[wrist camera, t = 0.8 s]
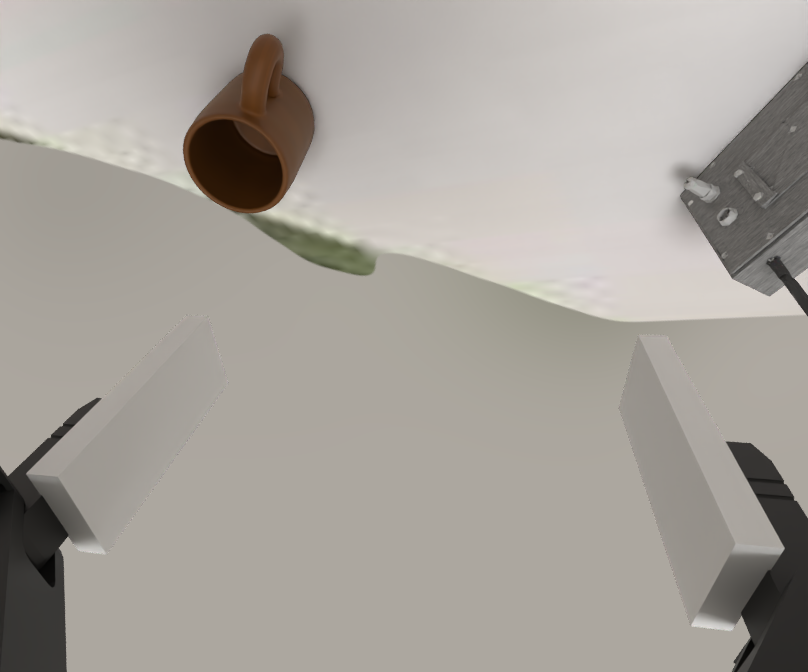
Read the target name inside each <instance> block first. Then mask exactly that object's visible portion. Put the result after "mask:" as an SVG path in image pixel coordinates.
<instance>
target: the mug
mask: <svg viewBox="0 0 808 672" xmlns="http://www.w3.org/2000/svg"><path fill="white" fill-rule="evenodd" d="M283 62H284V50H283V46H282V44H281V42H280V41H279V39H277V38H276V37H275V36H273V35H271V34H263V35H261V36H259V37H258V38H257V39H256V40H255V41H254V43H253V44H252V46H251V48H250V51H249V54H248V56H247V60H246V63H245V67H244V72H243V73H242V74H240V75H238V76H237V77H235V78H234V79H233V80H232V81H231V82H229V84H228V85H227V86H226V87H225V88H224V89H223V90H222V91H221V92H220V93H219V94H218V95H217V96H216V97H215V98H214V99H213V100H212V101H211V102H210V103H209V104H208V105H207V106H206V107H205V108H204V109H203V110H202V111H201V113H200V114H199V115H198V116H197V118H196V119H195V121H194V122H193V124H192V125H191V127H190V128H189V130H188V132H187V133H186V136H185V139H184V144H183V154H184V161H185V164H186V167H187V170H188V172H189V174H190V176H191V178H192V180H193V181H194V183H195V184H196V185H197V186H198V188H199V189H200V190H201V191H202V192H203V193H204V194H205V195H206V196H207V197H209V198H210V199H211V200H213V201H214V202H215V203H217V204H219V205H221V206H223V207H225V208H227V209H230V210H233V211H236V212H241V213H258V212H262V211H266V210H268V209H270V208H272V207H274V206H275V205H276V204H277V203H279V202H280V200H281V199H282V198H283V197H284V195H285V193H286V192H287V191H288V189H289V188H290V186H291V184H292V183H293V181H294V179H295V177H296V175H297V173H298V171H299V168H300V166H301V164H302V162H303V160H304V158H305V155H306V153H307V151H308V149H309V147H310V144H311V142H312V139H313V134H314V117H313V112H312V109H311V106H310V104H309V102H308V100H307V98H306V97H305V95H304V94H303V92H302V91H301V90H300V89H299V88H298V86H297V85H295V84H294V83H293V82H292V81H291V80H289V79H288V78H287V77H285V76H283V75H281V74H282V69H283Z"/></svg>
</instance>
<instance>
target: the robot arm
mask: <svg viewBox="0 0 808 672" xmlns="http://www.w3.org/2000/svg"><path fill="white" fill-rule="evenodd" d="M227 384H228V379H227V376H226V373H225V369H224V366H223V363H222V359H221V356H220V353H219V349H218V346H217V343H216V340H215V336H214V333H213V329H212V326H211V323H210V319H209V316H199V315H186V316H185V317H184V318H183V319H182V320H181V321H180V322H179V323H178V324H177V325H176V326H175V327H174V328H173V329H172V330H171V331H170V332H169V333H168V334H167V335H166V336H165V337H164V338H163V339H162V340H161V341H160V342H159V343H158V344H157V345H156V346H155V347H154V348H153V349H152V350H151V351H150V352H149V353H147V355H145V357H143V358H142V360H141V361H139V362H138V363H137V364H136V365H135V366H134V367H133V368H132V369H131V370H130V371H129V372H128V373H127V374H126V375H125V376H124V377H123V378H122V379H121V380H120V381H119V382H118V383H117V384H116V385H115V386H114V387H113V388H112V389H111V390H110V391H109V392H108V393H107V394H106V395H105V396H104V397H103V398H96V399H95V400H93V401H91V402H90V403H88V404H86V405H85V406H83V407H81V408H80V409H78V410H77V411H76V412H75V413H74V414H73V415H72V416H71V417H69V418H68V419H67V420H66V421H65V422H64V423H63V426H62V427H59V428H58V429H57V430H56V431H55V432H54V433H53V434H52V435H51V438H48V439H47V440H46V441H45V442H43V443H42V444H41V445H40V446H39V447H38V448H37V449H36V450H35V451H34V452H33V453H32V454H31V455H30V456H29V457H28V458H27V459H26V460H25V461H23V462H22V463H21V465H19V466H18V467H17V468H16V469H15V470H14V471H13V472H12V473H11V474H10V475H9V476H7V475H6V473H5V472H4V471H3V470H2V468H1V467H0V672H67V670H66V636H65V635H66V633H65V601H64V600H65V599H64V598H65V597H64V561H63V556H62V553H61V551H60V549H59V547H60V545H61V544H62V543H63V542H64V541H65V539H66V538H67V537H69V538H70V539H71V541H72V542H73V544H74V545H75V547H76V548H77V550H78V551H83V552H90V553H98V554H107V553H108V552H109V551H110V549H111V548H112V546H113V545H114V543H115V542H116V541H117V539H118V538H119V536H120V535H121V534H122V532H123V531H124V529H125V528H126V527H127V525H128V524H129V522H130V521H131V520H132V518H133V517H134V515H135V514H136V513H137V511H138V510H139V508H140V507H141V506H142V504H143V503H144V501H145V500H146V498H147V497H148V496H149V494H150V493H151V491H152V490H153V488H154V487H155V486H156V484H157V483H158V482H159V480H160V479H161V477H162V476H163V475H164V473H165V472H166V470H167V469H168V468H169V466H170V465H171V463H172V462H173V460H174V459H175V457H176V456H177V455H178V453H179V452H180V451H181V449H182V448H183V446H184V445H185V444H186V442H187V441H188V439H189V438H190V436H191V435H192V434H193V432H194V431H195V430H196V428H197V426H198V425H199V424H200V422H201V421H202V420H203V418H204V417H205V415H206V414H207V412H208V411H209V410H210V408H211V407H212V406H213V404H214V403H215V401H216V400H217V399H218V397H219V396H220V394H221V393H222V392H223V390H224V389H225V387H226V386H227ZM619 410H620V413H621V416H622V419H623V422H624V425H625V428H626V431H627V435H628V438H629V441H630V443H631V446H632V450H633V453H634V456H635V459H636V462H637V464H638V468H639V471H640V474H641V477H642V480H643V483H644V486H645V489H646V492H647V495H648V498H649V501H650V504H651V507H652V510H653V513H654V516H655V520H656V523H657V526H658V528H659V532H660V535H661V538H662V541H663V544H664V547H665V550H666V553H667V556H668V559H669V562H670V565H671V568H672V571H673V574H674V577H675V580H676V583H677V586H678V589H679V592H680V595H681V598H682V601H683V605H684V607H685V610H686V613H687V617H688V620H689V623H690V626H695V627H702V628H710V629H719V630H727V631H732V630H733V628H734V626H735V625H736V623H737V622H738V620H739V619H740V617H741V616H742V617H743V619H744V622H745V624H746V626H747V629H748V631H749V633H750V636H751V637H750V639H749V640H748V642H747V643H746V645H745V646H744V647H743V649H742V650H741V652H740V653H739V655H738V656H737V657H736V659H735V660H734V663H735V666H734V668H733V671H732V672H808V518H807V516H806V515H805V513H804V512H803V510H802V509H801V507H800V505H799V504H798V502H797V501H794V496H793V494H792V493H791V491H790V490H789V488H788V486H787V485H786V484H784V480H783V479H782V477H781V475H780V474H779V472H778V471H777V469H776V467H775V466H774V464H773V463H772V461H771V460H770V459H768V458H767V457H766V456H765V455H764V454H763V453H762V452H760V451H759V450H758V449H757V448H756V447H754V446H753V445H752V444H751V443H739V442H726V441H725V440H724V438H723V436H722V435H721V432H720V431H719V429H718V428H717V425H716V423H715V422H714V420H713V418H712V416H711V414H710V413H709V411H708V409H707V407H706V406H705V404H704V402H703V400H702V398H701V396H700V395H699V393H698V391H697V389H696V387H695V386H694V384H693V382H692V380H691V378H690V377H689V375H688V373H687V371H686V369H685V367H684V366H683V364H682V362H681V360H680V358H679V357H678V355H677V353H676V351H675V349H674V348H673V346H672V344H671V342H670V341H669V339H668V337H667V336H666V335H643V334H642V335H641V334H638V337H637V341H636V344H635V348H634V352H633V356H632V359H631V363H630V367H629V371H628V375H627V378H626V382H625V386H624V390H623V394H622V397H621V401H620V405H619Z"/></svg>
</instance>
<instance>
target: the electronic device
mask: <svg viewBox="0 0 808 672" xmlns="http://www.w3.org/2000/svg"><path fill="white" fill-rule="evenodd" d="M684 188H685V189H686V190H685V191H684V192H683V193H682V194H681V195H680V196H681V197H682V200H683V202H684V203H685V205H686V206H687V208H688V210H689V211H690V213H691V214H692V216H693V217H694V219H695V221H696V222H697V224H698V225H699V227H700V228H701V230H702V232H703V233H704V235H705V236H706V238H707V239H708V241H709V243H710V244H711V246H712V247H713V249H714V250H715V252H716V254H717V255H718V257H719V258H720V260H721V262H722V263H723V265H724V266H725V268H726V269H727V271H728V273H729V274H730V276H731V277H732V279H734V280H736V281H738V282H740V283H742V284H744V285H746V286H749V287H751V288H753V289H755V290H757V291H759V292H761V293H763V294H765V295H767V296H771V295H772V294H774V293H775V292H776V291H778V290H779V289H780V288H782V287H783V286H784V285H785V286H786V287H787V289H788V290H789V291H790V293H791V294H792V296H793V297H794V298H795V300H796V301H797V302H798V304H799V305H800V306H801V308H802V309H803V311H804V312H805V313H806V315H807V316H808V295H807V294H806V292H805V291H804V290H803V289H802V287H801V286H800V285H799V283H798V282H797V281H796V280H795V279H794V278H795V277H796V276H798V275H799V274H800V273H802V272H803V271H804V270H806V269H807V268H808V63H807V64H806V65H805V66H804V67H803V68H802V69H801V70H800V71H799V72H798V73H797V74H796V75H795V77H794V78H793V79H792V80H791V81H790V82H789V83H788V84H787V85H786V86H785V87H784V88H783V89H782V90H781V91H780V92H779V93H778V94H777V95H776V96H775V97H774V98H773V99H772V101H771V102H770V103H769V104H768V105H767V106H766V107H765V108H764V109H763V110H762V111H761V112H760V113H759V114H758V115H757V116H756V117H755V118H754V119H753V120H752V121H751V122H750V123H749V124H748V126H747V127H746V128H745V129H744V130H743V131H742V132H741V133H740V134H739V135H738V136H737V137H736V138H735V139H734V140H733V141H732V142H731V143H730V144H729V145H728V146H727V147H726V148H725V149H724V151H723V152H722V153H721V154H720V155H719V156H718V157H717V158H716V159H715V160H714V161H713V162H712V163H711V164H710V165H709V166H708V167H707V168H706V169H705V170H704V171H703V172H702V173H701V175H700V176H699V177H698V178H697V179H696V178H693V177H689V178H688V179H686V181H685V183H684Z"/></svg>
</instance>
